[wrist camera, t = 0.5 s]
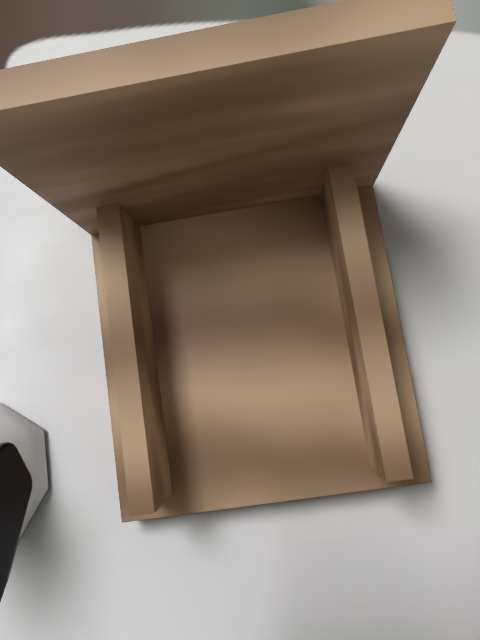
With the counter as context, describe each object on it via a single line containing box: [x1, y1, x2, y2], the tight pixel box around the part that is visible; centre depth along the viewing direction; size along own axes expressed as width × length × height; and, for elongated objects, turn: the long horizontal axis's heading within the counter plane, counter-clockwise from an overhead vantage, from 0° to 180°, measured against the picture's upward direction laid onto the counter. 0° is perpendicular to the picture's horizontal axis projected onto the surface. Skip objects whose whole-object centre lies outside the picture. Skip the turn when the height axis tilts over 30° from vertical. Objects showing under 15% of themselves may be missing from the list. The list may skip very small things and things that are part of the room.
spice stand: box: [0, 0, 456, 523], centre depth 17 cm, size 15×14×12 cm
